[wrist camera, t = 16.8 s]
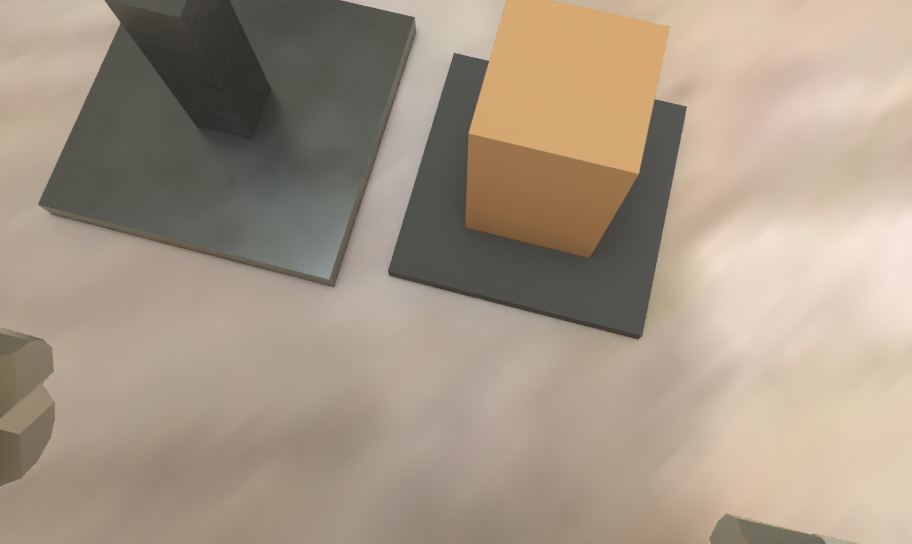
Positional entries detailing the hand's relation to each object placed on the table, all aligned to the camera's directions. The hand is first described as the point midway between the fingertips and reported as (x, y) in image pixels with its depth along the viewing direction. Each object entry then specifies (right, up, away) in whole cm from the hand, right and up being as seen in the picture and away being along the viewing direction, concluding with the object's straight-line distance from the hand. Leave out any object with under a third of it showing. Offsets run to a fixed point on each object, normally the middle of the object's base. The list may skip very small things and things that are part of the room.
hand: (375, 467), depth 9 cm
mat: (+4, +6, +21) cm, 22 cm away
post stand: (-8, +9, +22) cm, 25 cm away
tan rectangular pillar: (+4, +6, +20) cm, 22 cm away
